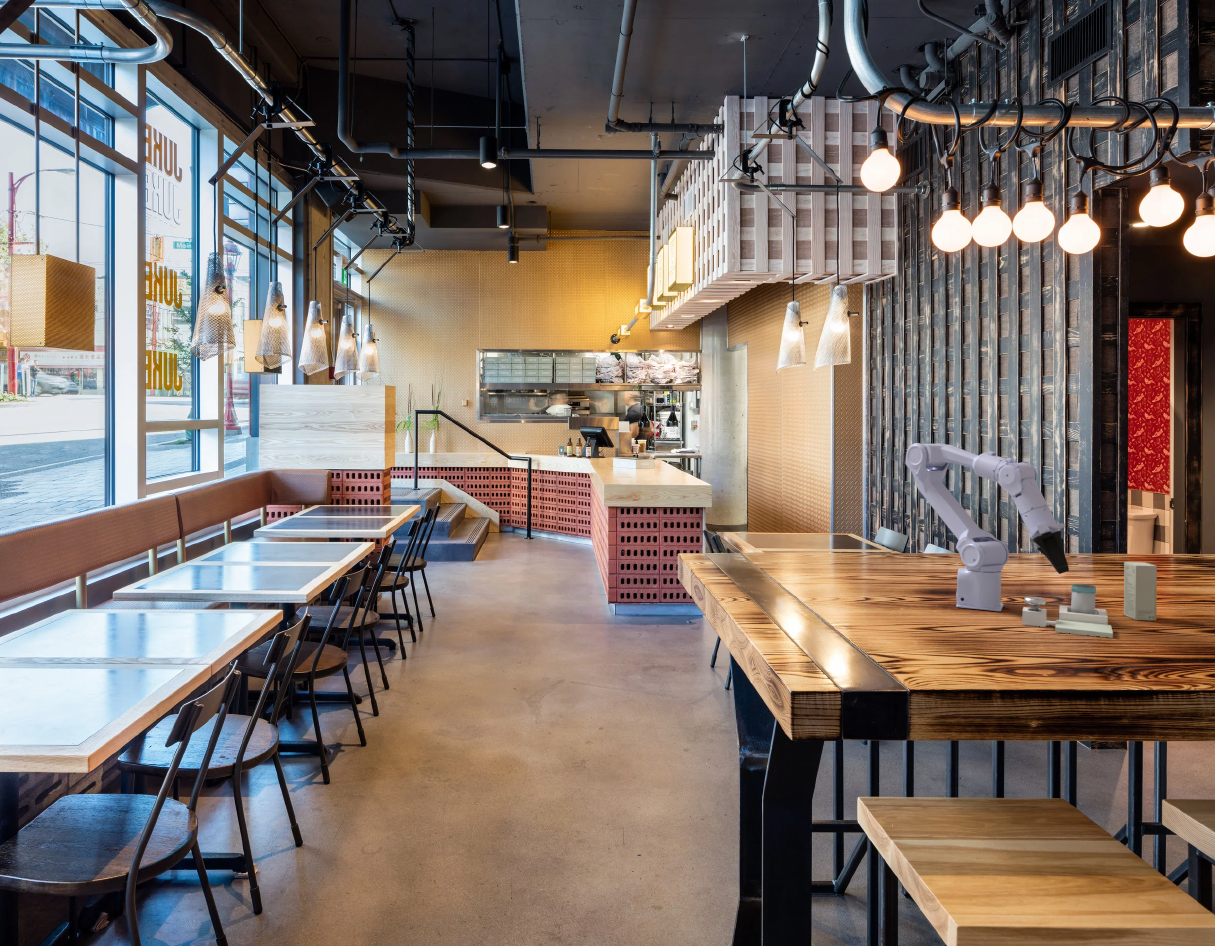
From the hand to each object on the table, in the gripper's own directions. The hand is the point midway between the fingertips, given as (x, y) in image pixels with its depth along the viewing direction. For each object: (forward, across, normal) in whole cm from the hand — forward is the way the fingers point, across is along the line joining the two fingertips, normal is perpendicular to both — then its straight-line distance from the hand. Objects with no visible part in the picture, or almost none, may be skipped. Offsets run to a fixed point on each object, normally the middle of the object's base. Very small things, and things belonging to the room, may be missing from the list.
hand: (1063, 569), depth 170 cm
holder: (+10, +6, +4) cm, 12 cm away
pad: (+13, 0, +2) cm, 13 cm away
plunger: (+7, 0, +9) cm, 11 cm away
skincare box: (+12, +20, -10) cm, 25 cm away
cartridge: (+11, +8, +1) cm, 13 cm away
